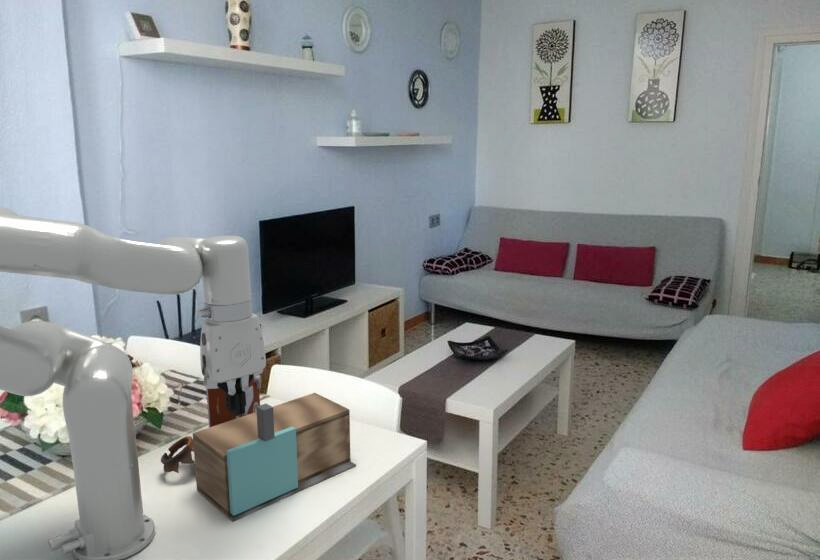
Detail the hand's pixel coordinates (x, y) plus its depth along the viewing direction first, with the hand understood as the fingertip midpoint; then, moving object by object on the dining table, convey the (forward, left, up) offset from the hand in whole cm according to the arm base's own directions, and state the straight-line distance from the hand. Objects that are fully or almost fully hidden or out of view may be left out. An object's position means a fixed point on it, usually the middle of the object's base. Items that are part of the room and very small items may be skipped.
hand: (236, 412), depth 110 cm
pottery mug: (+1, +21, -20) cm, 29 cm away
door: (+5, 0, -19) cm, 20 cm away
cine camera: (+17, +30, -20) cm, 40 cm away
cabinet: (+12, +7, -20) cm, 24 cm away
